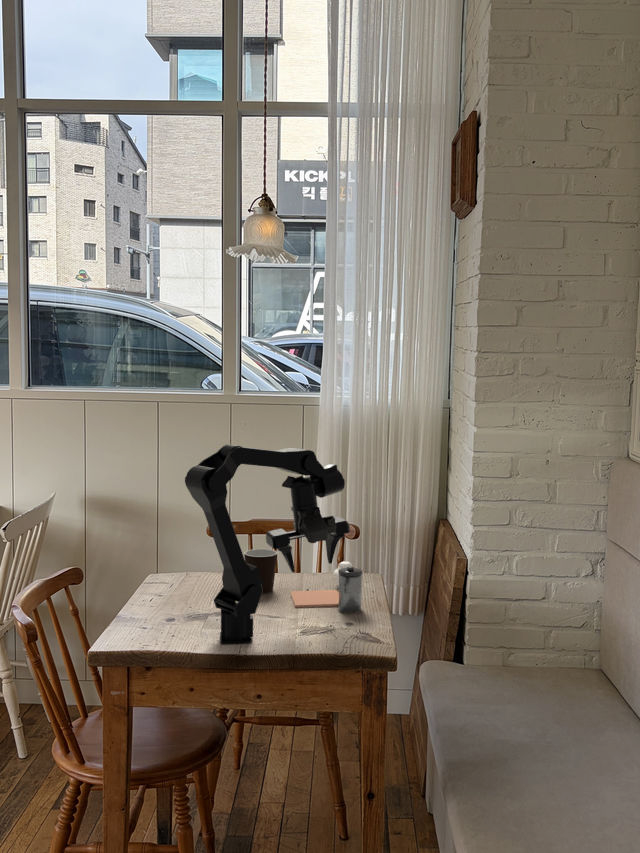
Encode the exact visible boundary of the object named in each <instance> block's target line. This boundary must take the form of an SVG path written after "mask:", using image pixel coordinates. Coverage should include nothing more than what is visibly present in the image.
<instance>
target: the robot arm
mask: <svg viewBox="0 0 640 853" xmlns="http://www.w3.org/2000/svg"><path fill="white" fill-rule="evenodd" d="M241 465H248V466H257V467H258V466H259V467H266V468H267V467H268V468H275V469H278V470H281V471H284V472H287V473H290V474H295V475H299V476H297V477H295V476H292V475H287V477H286V478H285V480H284V481H283V482H282V484H281V486H282V487H283V488H287V489H290V496H291V506H290V508H291V511H292V513H293V515H292V516H293V523H292V526H293V529H294V530H290V531H286V530H284V529H283V528H276V529H273V530H268V531H267V533H265V541H266V544H267V545H268V546H270V548H272V550H273V549H274V550H277V552H278V551H279V552H281V554H282V556H283V557H284V559H285V562H286V563H287V565H288V567H289V569H290V571H291V572H292V573H295V562H294V559H293V553H292V549H293V547H292V546H291V545H290V544H291V541H292V540H296V539H301V538H306V541H307V542H308V543H309V544H316V543H317V542H322V541H323V542H325V548H326V556H327V562H328V563H329V565H332V564H333V563H332V562H333V559H334V555H335V552H336V548H337V545H338V543H339V541H340V540H341V539H342V538H345V536H346V535H345V534H349V533H350V532H351V530H350V529H351V528H350V524H349V521H347V520H346V519H344V518H342V517H341V516H334V515H329V516H324V517H323V515H322V514H321V510H320V507H319V506H318V505H319V504H318V499H317V497H318V498H326V497H328V496H331V495H334V494H338V493H340V492H343V490H344V489H345V485H346V484H345V483H346V481H345V478H344V476H343V473H342V472H340V470H339V469H338V465H337V464H333V463H330V464H327V465H325V466H323V465H322V464H321V463H320V462H319V460H318V459H317V455H316V454H315V451H314V450H311V449H310V450H309V449H304V448H299V447H289V448H288V447H287V448H281V449H276V450H273V449H272V450H271V449H263V448H256V447H255V448H254V447H246V446H241V445H237V444H225V445H223V446H222V447H221V448H220V449H218V450H217V451H216V452H215V453H213V454H211V455H210V456H208V457H206V458H205V459H203V460H201V461H200V462H199V463H198V464H197V465H195V466H192V467H191V468H189V470H188V471H187V473H186V475H185V477H184V483H185V487H186V489H187V490H188V492H189V493H190V495H191V497H192V499H193V500H194V501H195V502H196V503H197V505H199V507H200V508H201V510H202V511H203V513H204V516H205V519H206V522H207V525H208V527H209V530H210V533H211V536H212V538H213V542H214V543H215V547H216V550H217V553H218V555H219V556H218V557H219V559H220V561H221V564H222V567H223V571H222V576H221V581H222V588H221V589H220V591H218V593H217V594H216V596H215V597H214V599H213V604H214V606H215V608H216V609H220V632H219V640H220V641H219V642H220V644H246V643H248V644H249V643H252V638H254V617H253V615H254V614H256V612H257V609H258V607H259V606H258V605H259V602H260V598H261V597H262V595H263V594H262V593H263V588H262V585H261V584H264V582H263V581H262V580H261V578H260V573H259V570H258V567H255V566H253V565H250V564H247V563H246V562H245V556H244V553H243V551H242V548H241V546H240V542H239V539H238V537H237V534H236V531H235V528H234V526H233V523H232V519H231V516H230V513H229V511H228V507H227V504H226V501H227V496H228V487H227V484H228V483H229V482H230V481H231V480H232V479H233V478H234V476H235V474H236V471H237V470H238V469H239V467H240V466H241ZM307 476H308V477H307Z"/></svg>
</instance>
